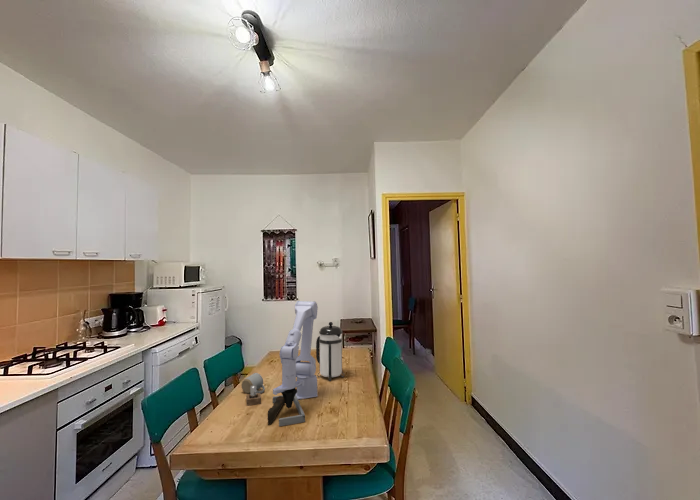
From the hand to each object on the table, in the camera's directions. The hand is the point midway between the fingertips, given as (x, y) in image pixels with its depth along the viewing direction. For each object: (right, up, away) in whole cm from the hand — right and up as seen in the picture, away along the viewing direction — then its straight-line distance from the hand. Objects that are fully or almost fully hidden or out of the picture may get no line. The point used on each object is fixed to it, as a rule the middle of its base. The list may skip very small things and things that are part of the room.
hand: (288, 407), depth 134 cm
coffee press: (+14, -4, +42) cm, 45 cm away
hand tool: (-5, -2, -2) cm, 6 cm away
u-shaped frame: (0, -2, 0) cm, 2 cm away
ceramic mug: (-21, -3, +22) cm, 31 cm away
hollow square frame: (-18, -2, +9) cm, 20 cm away
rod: (-18, -2, +9) cm, 20 cm away
